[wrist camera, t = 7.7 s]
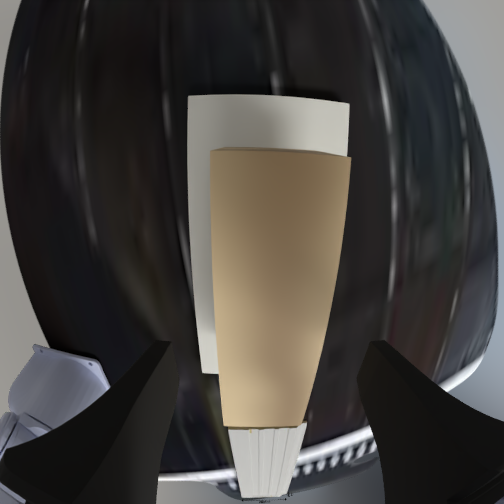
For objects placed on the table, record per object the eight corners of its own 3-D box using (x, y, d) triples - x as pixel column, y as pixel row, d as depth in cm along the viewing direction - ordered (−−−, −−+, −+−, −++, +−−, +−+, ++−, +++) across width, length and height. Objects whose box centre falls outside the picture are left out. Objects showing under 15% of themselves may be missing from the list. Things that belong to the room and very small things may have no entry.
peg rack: (204, 364, 22) (199, 390, 19) (191, 98, 14) (179, 90, 11) (310, 365, 22) (315, 391, 19) (343, 105, 14) (362, 100, 12)
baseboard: (319, 415, 26) (228, 418, 26) (323, 435, 24) (226, 439, 24) (293, 489, 38) (241, 491, 38) (294, 501, 35) (241, 503, 35)
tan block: (228, 366, 18) (223, 426, 13) (224, 147, 13) (210, 150, 8) (292, 367, 18) (301, 425, 13) (316, 150, 13) (351, 157, 8)
